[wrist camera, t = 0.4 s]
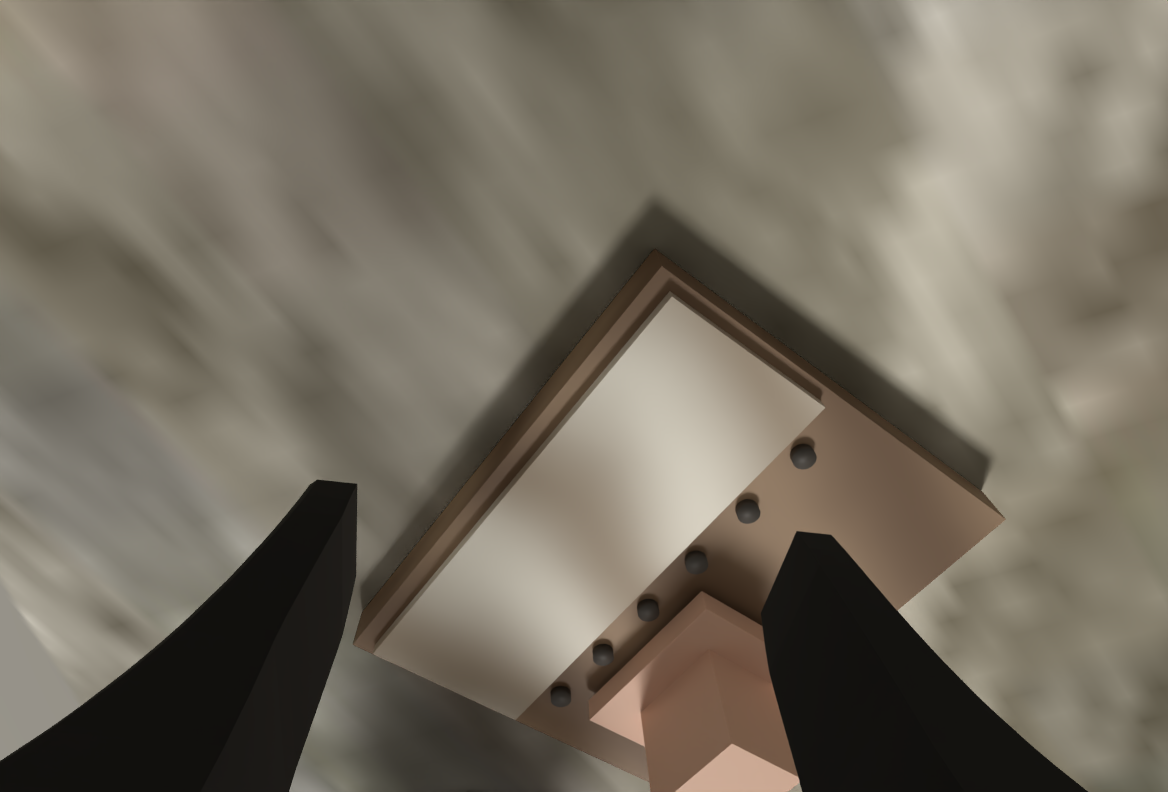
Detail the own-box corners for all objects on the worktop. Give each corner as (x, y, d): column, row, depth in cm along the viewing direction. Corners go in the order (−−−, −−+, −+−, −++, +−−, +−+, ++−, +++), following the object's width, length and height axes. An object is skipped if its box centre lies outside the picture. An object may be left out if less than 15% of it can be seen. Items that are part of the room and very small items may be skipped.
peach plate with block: (701, 756, 29) (725, 874, 25) (588, 700, 27) (595, 818, 23) (817, 657, 27) (862, 771, 23) (701, 590, 25) (729, 700, 21)
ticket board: (671, 761, 31) (678, 804, 30) (361, 611, 27) (349, 654, 25) (981, 491, 26) (1012, 527, 24) (654, 248, 21) (663, 271, 20)
